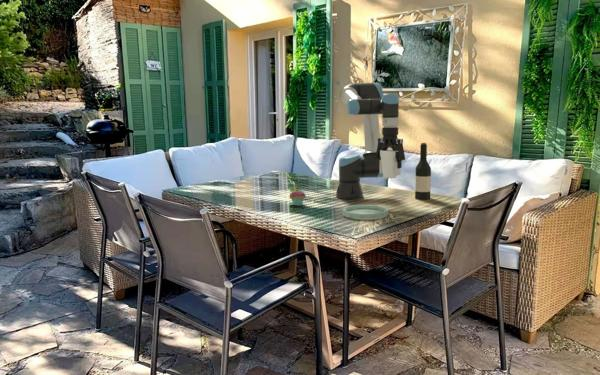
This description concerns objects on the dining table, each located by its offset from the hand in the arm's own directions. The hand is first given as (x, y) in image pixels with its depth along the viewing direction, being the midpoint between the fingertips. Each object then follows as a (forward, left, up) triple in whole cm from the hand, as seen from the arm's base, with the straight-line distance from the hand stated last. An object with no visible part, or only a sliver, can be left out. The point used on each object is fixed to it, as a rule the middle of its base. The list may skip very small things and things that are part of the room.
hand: (389, 174), depth 215 cm
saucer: (-7, -14, -18) cm, 24 cm away
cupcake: (-48, -7, -18) cm, 51 cm away
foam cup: (0, 0, -2) cm, 2 cm away
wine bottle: (+6, +35, -18) cm, 40 cm away
